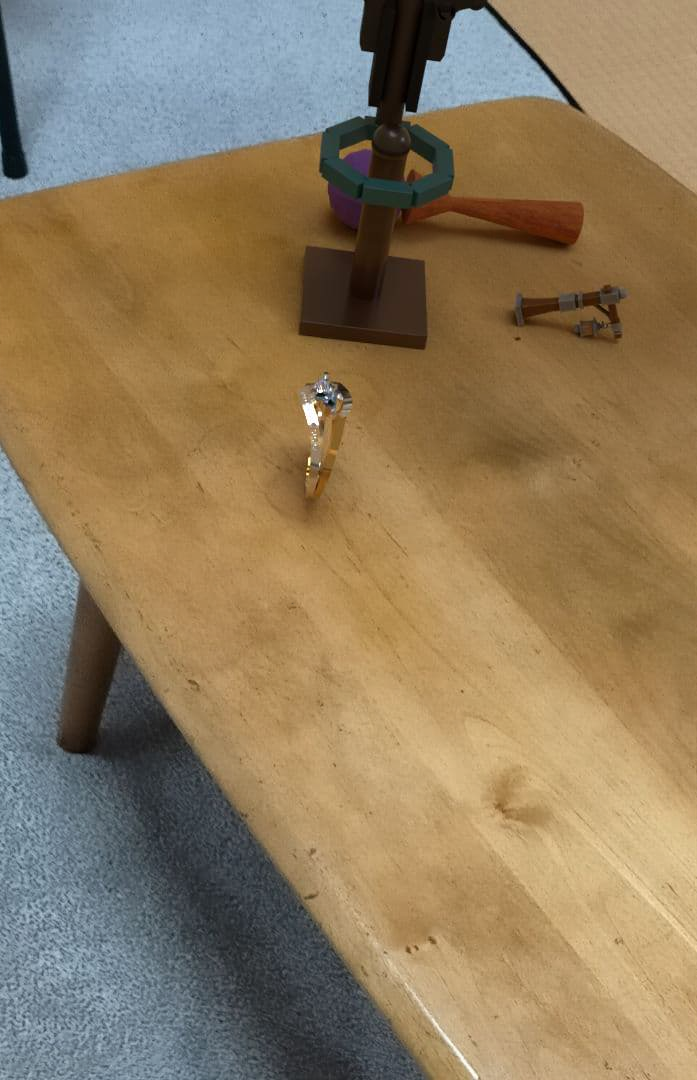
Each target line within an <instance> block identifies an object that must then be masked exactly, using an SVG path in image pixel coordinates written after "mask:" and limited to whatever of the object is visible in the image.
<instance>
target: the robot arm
mask: <svg viewBox="0 0 697 1080" xmlns="http://www.w3.org/2000/svg"><path fill="white" fill-rule="evenodd" d="M487 1H488V0H425V1H424V6H423V10H422V15H421V21H420V26H419V32H418V37H417V42H416V48H415V53H414V58H413V64H412V69H411V74H410V79H409V85H408V90H407V95H406V101H405V107H404V112H405V113H406V112H407V113H412V114H413V113H414V114H417V113H418V108H419V103H420V98H421V92H422V87H423V83H424V82H423V81H424V76H425V71H426V66H427V61H430V62H438V63H441V61H442V60H443V59H444V58H445V56H446V51H447V46H448V41H449V37H450V31H451V28H452V23H453V20H454V19H455V18H456V15H457V13H459V12H461V11H463V10H464V11H465V10H469V9H470V10H471V11H475V12H478V11H480V10H482V9H484V8H485V6H486V4H487ZM395 13H396V4H395V0H363V8H362V14H361V21H360V27H359V38H358V40H359V41H358V43H359V47H360V51H361V52H365V53H372V54H373V55H372V62H371V68H370V74H369V80H368V85H367V86H368V89H367V93H368V94H367V107H370V108H376V109H377V108H379V107H380V101H381V95H382V89H383V83H384V78H385V72H386V66H387V60H388V54H389V48H390V43H391V37H392V31H393V25H394V19H395Z"/></svg>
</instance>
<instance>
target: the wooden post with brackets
mask: <svg viewBox="0 0 697 1080" xmlns="http://www.w3.org/2000/svg"><path fill="white" fill-rule="evenodd" d="M628 295H629V292H628V290H627V289H626V288H621V289H620V286H619V285H615V286H612V285H611V284H605V285H603V287H600V289H599V290H596V291H590V292H584V291H583V290H582V291H578V293H576V291H574V292H571V293H566V294H565V293H564V294H559V295H558V296H553V297H523V292H516V293H515V300H514V305H513V307H514V308H513V309H514V312H515V316H516V320H517V325H518V327H520V326H524V325H525V320H527V319H530V318H532V317H536V316H541V315H545V314H548V313H553V312H560V314H562V313H564V312H577V309H579V311H582V310H584V309H585V308H588V307H593V308H595V309H597V310H598V311H599V312H600V313H602V314H603V315H604V316H606V317H607V318H608V320H609V322H608V323H605V322H604V321H603V320H601V322H598V320H597V318H596V316H594V317H593V320H592V319H591V320H590V319H589V320H583V319H579V324H575V325H573V327H572V332H573V333H575V334H579V333H580V338H583V337H584V336H589V335H590V336H591V335H594V337H595V338H597V335H598V333H599V331H602V333H603V332H604V331H605V329H608V328H610V329H611V332H612V336H613V339H614V340H617V339H622V338H623V332H622V321H621V317H619V313H618V309H617V305H618V304H621V300H624V299H626V298H627V297H628ZM605 306H607V309H608V310H607V309H606V308H605Z"/></svg>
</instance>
